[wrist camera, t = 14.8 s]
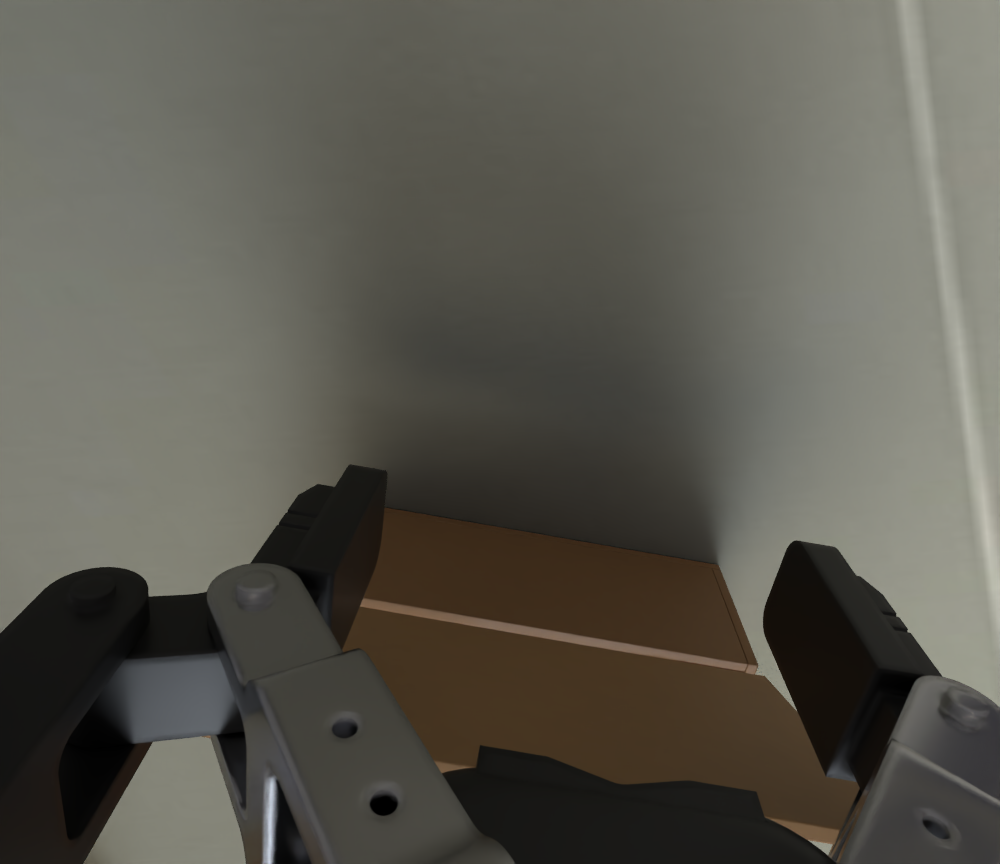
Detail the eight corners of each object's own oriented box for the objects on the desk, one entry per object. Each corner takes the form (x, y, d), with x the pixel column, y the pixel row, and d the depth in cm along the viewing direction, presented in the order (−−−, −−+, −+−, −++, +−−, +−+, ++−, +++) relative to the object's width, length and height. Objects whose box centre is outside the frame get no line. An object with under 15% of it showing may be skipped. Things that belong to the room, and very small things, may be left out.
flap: (295, 606, 18) (296, 595, 18) (763, 687, 18) (765, 675, 18) (173, 733, 11) (176, 714, 11) (912, 858, 11) (916, 841, 11)
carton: (348, 500, 23) (301, 587, 19) (718, 564, 23) (759, 665, 19) (325, 783, 28) (284, 902, 24) (625, 835, 29) (639, 962, 24)
